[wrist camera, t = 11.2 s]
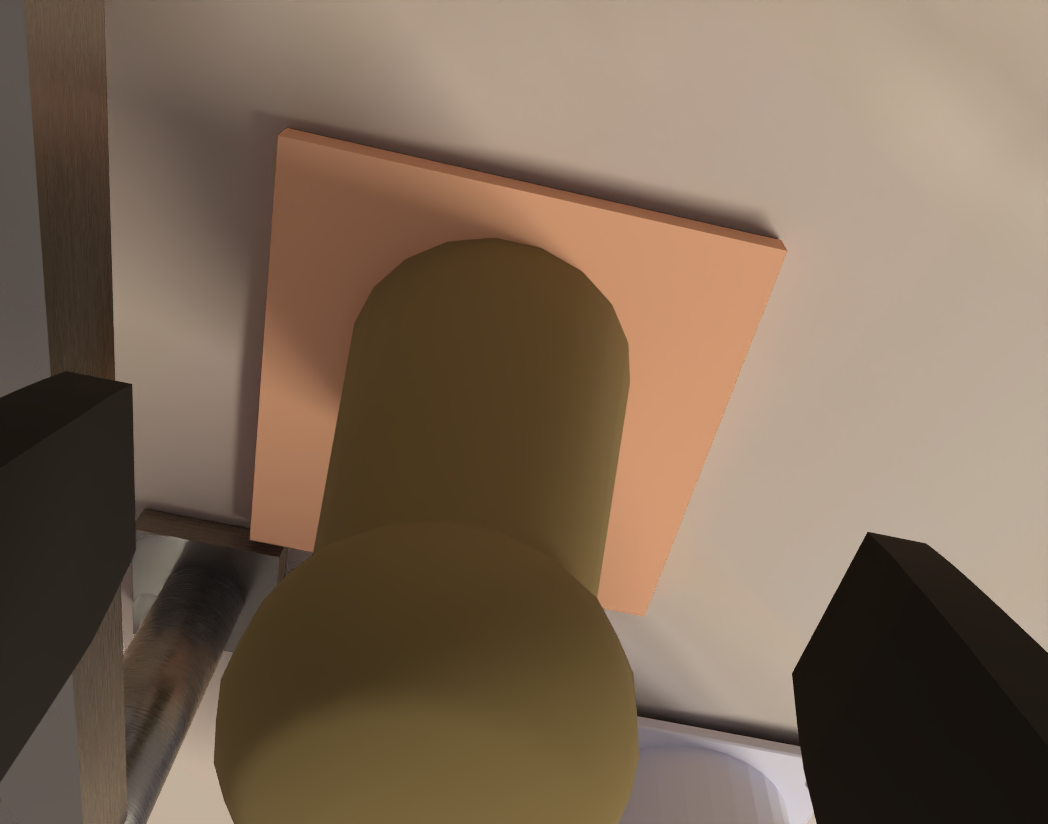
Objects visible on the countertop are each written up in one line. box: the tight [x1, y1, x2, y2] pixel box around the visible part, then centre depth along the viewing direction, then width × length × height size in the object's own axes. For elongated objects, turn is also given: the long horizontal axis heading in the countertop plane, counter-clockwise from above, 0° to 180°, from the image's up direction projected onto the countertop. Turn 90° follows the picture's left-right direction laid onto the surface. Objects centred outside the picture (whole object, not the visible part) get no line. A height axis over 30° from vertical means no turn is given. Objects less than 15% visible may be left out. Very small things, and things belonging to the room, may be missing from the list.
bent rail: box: [0, 0, 287, 824], centre depth 15 cm, size 24×26×9 cm
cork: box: [214, 238, 639, 824], centre depth 14 cm, size 6×6×11 cm
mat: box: [250, 128, 787, 616], centre depth 20 cm, size 10×10×1 cm
